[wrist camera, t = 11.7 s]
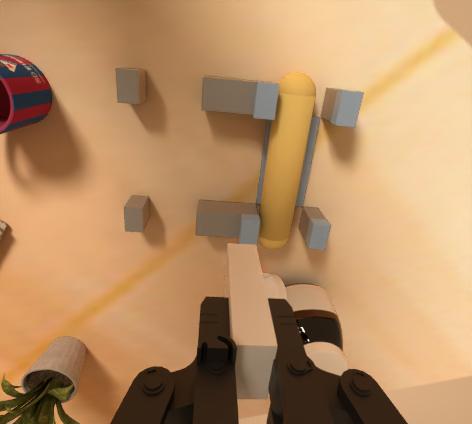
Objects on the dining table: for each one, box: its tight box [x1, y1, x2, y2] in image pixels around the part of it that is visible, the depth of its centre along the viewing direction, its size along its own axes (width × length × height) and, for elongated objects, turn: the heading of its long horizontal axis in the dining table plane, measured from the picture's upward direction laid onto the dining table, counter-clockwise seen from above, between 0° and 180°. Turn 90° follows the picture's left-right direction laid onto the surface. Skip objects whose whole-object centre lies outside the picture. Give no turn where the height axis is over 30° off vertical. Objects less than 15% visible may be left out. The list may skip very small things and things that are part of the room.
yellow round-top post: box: [258, 72, 316, 249], centre depth 36 cm, size 20×4×4 cm, turn 175°
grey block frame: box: [116, 68, 364, 250], centre depth 35 cm, size 17×23×5 cm
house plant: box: [0, 337, 86, 424], centre depth 40 cm, size 14×14×16 cm
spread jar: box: [262, 273, 349, 376], centre depth 41 cm, size 12×11×12 cm
